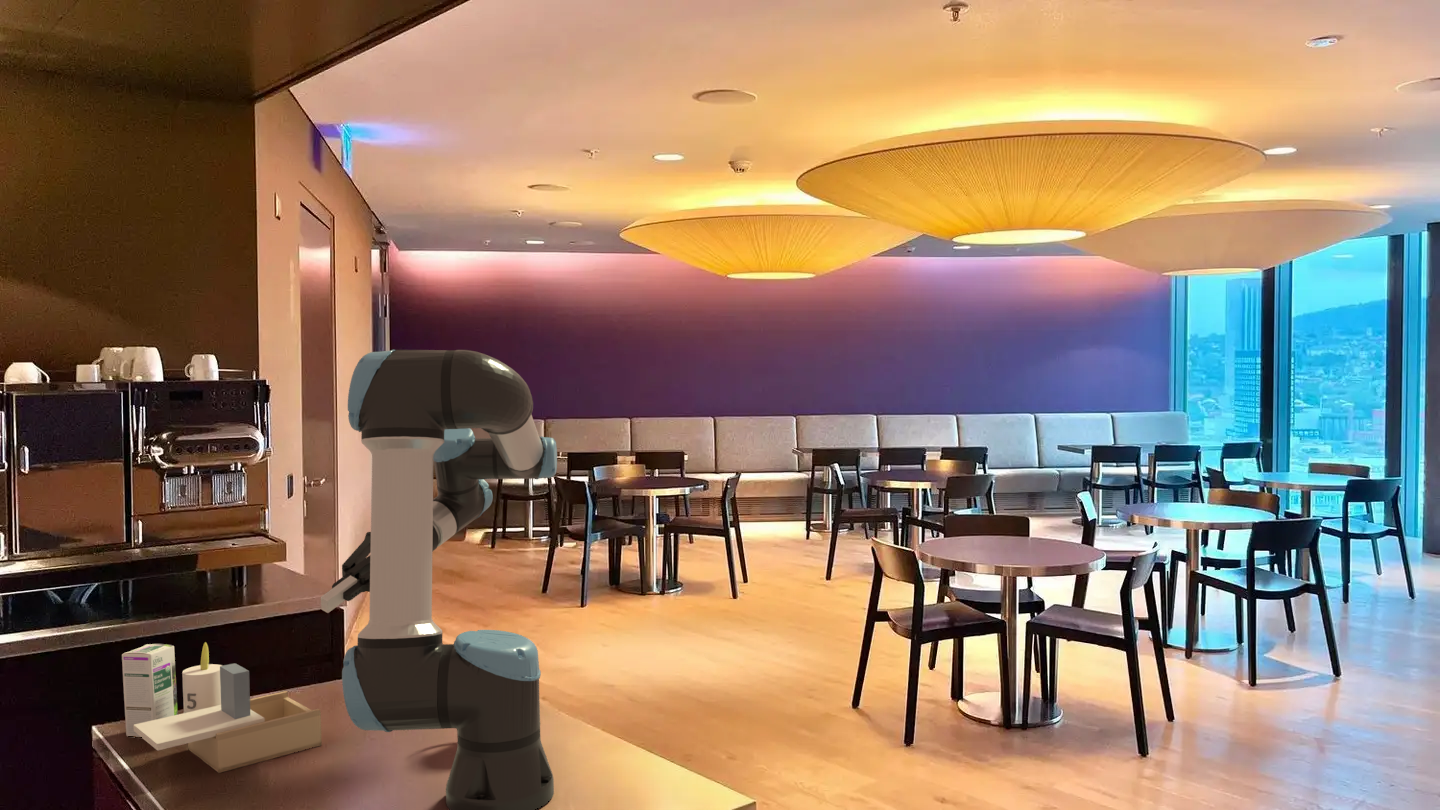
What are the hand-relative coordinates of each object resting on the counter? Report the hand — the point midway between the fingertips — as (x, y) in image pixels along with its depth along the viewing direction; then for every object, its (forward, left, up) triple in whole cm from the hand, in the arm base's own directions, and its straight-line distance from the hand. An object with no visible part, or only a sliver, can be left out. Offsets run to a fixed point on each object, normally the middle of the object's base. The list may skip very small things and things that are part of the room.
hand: (324, 605), depth 171 cm
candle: (+20, +15, -24) cm, 35 cm away
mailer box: (+7, +10, -23) cm, 26 cm away
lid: (+5, +18, -18) cm, 26 cm away
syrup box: (+25, +23, -24) cm, 41 cm away
